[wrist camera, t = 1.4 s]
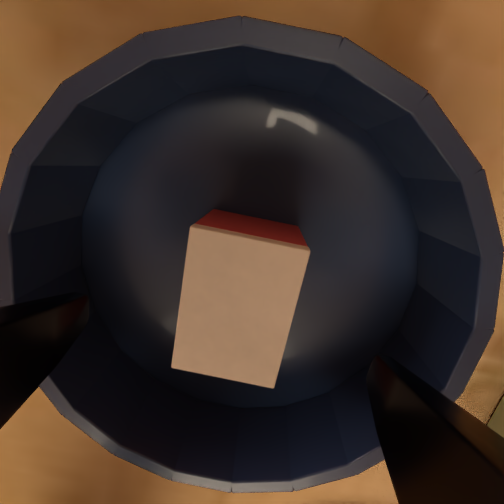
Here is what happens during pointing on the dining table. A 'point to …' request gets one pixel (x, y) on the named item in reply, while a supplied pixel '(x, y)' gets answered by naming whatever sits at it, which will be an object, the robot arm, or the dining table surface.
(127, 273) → the pot
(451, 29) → the dining table surface
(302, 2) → the dining table surface
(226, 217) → the meat
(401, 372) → the robot arm
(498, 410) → the board
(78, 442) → the dining table surface
